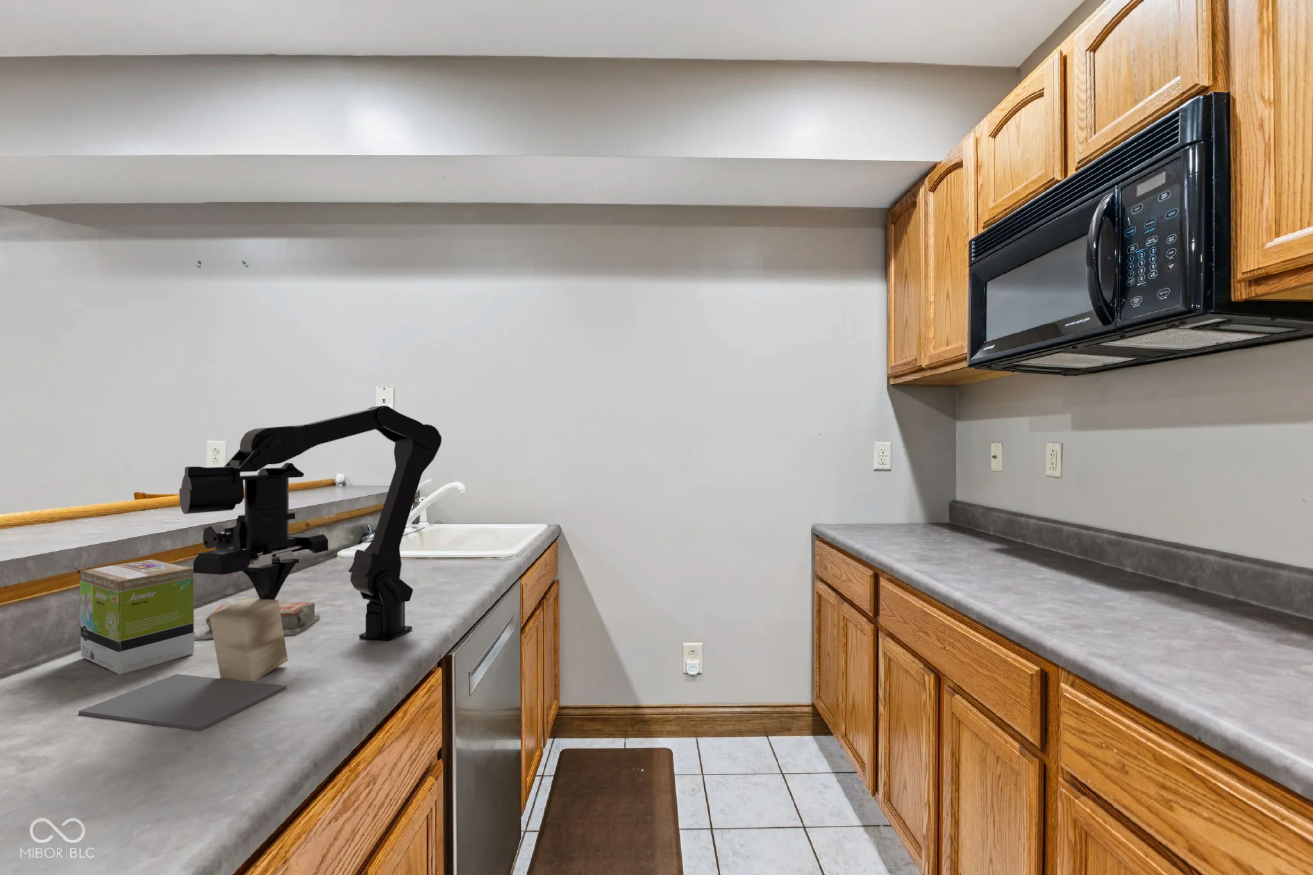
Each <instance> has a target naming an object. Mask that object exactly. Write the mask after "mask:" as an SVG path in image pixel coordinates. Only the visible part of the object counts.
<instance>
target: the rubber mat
mask: <svg viewBox="0 0 1313 875" xmlns="http://www.w3.org/2000/svg"><path fill="white" fill-rule="evenodd" d="M286 689H287V685H283V684H282V685H281V684H273V683H263V682H256V681H253V682H249V681H240V680H232V679H224V678H218V677H210V676H209V677H208V676H198V675H191V674H190V675H189V674H181V673H176V674H173V675H170V676H168V677H165V678H162V679H159V680H157V681H154V682H152V683H148V684H145V685H143V686H141V687H138V688H135V689H133V690H130V691H128V692H125V693H122V694H119V695H117V696H114V697H112V698H109V699H107V700H104V701H102V702H99V703H96V704H94V705H90V706H88V707H86V708H82V709H80V710H78V715H84V716H89V717H98V718H106V719H112V720H113V719H114V720H119V721H127V722H135V723H142V724H150V725H157V726H164V727H171V728H172V727H173V728H179V729H187V730H194V731H203V730H204V729H206V728H208V727H211V726H213V725H215V724H217V723H219V722H221V721H223V720H225V719H227V718H230V717H231V716H233V715H236V714H237V713H239V712H241V711H243V710H245V709H247V708H249V707H252V706H254V705H255V704H257V703H260V702H262V701H264V700H266V699H268V698H270V697H272V696H274V695H276V694H279V693H280V692H282V691H284V690H286Z"/></svg>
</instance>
